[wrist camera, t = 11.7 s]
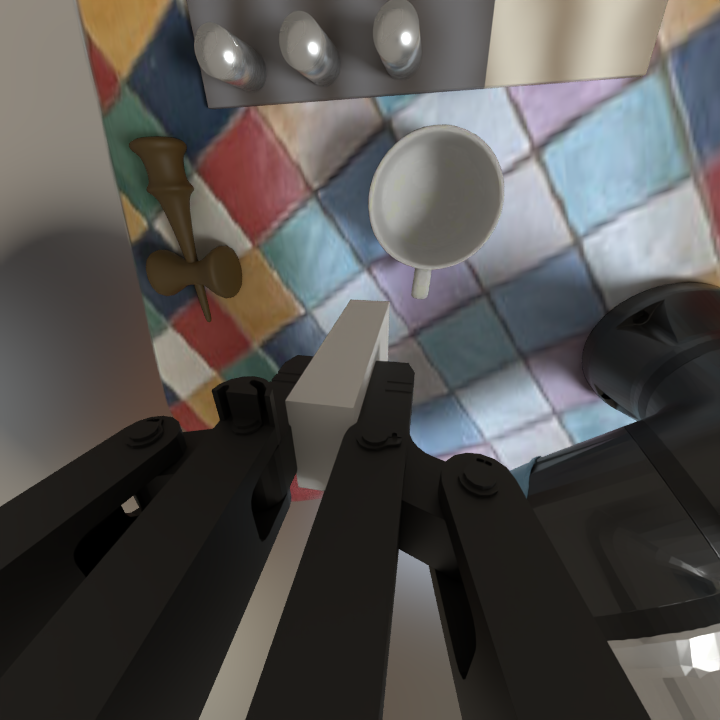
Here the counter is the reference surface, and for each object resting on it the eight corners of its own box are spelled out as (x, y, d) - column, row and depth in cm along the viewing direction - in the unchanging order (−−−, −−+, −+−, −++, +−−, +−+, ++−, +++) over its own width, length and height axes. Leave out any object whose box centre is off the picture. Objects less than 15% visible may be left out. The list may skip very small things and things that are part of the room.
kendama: (215, 136, 35) (254, 314, 44) (140, 144, 37) (192, 313, 47) (176, 128, 30) (229, 332, 39) (91, 139, 32) (161, 330, 41)
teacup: (398, 119, 31) (388, 106, 24) (510, 152, 31) (532, 147, 24) (362, 264, 38) (347, 284, 32) (452, 291, 38) (457, 318, 31)
